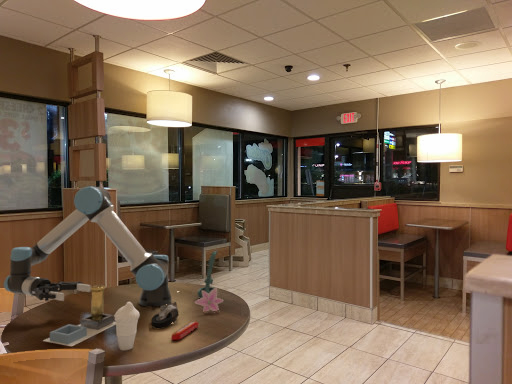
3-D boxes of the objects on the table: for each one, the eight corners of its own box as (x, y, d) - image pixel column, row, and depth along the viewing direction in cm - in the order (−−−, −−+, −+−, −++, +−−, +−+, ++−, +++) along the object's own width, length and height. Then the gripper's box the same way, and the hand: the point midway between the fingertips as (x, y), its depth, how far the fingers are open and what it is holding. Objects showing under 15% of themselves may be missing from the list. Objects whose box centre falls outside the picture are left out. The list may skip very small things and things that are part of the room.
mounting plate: (93, 320, 150) (93, 318, 150) (119, 325, 146) (119, 322, 146) (42, 343, 127) (42, 340, 127) (71, 349, 123) (71, 346, 123)
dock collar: (68, 332, 135) (68, 324, 135) (86, 335, 133) (87, 327, 133) (49, 340, 127) (49, 332, 127) (68, 344, 125) (68, 335, 125)
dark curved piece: (207, 308, 174) (226, 259, 175) (188, 299, 176) (207, 250, 177) (215, 302, 188) (232, 257, 189) (197, 294, 190) (214, 249, 191)
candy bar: (191, 326, 147) (191, 319, 147) (199, 328, 145) (199, 320, 145) (169, 341, 132) (169, 333, 132) (177, 343, 130) (177, 335, 130)
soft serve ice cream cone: (107, 350, 123) (108, 303, 123) (124, 341, 131) (125, 296, 131) (127, 355, 120) (128, 306, 120) (144, 345, 128) (144, 299, 128)
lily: (190, 314, 163) (193, 299, 159) (201, 297, 173) (204, 282, 169) (215, 324, 161) (218, 309, 157) (224, 307, 172) (228, 292, 167)
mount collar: (96, 319, 149) (96, 312, 149) (113, 322, 146) (113, 315, 146) (80, 326, 141) (80, 319, 141) (98, 329, 138) (98, 322, 138)
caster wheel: (154, 335, 142) (151, 323, 151) (182, 326, 146) (178, 315, 155) (151, 320, 141) (148, 309, 150) (180, 311, 145) (175, 301, 154)
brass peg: (105, 321, 147) (105, 284, 147) (103, 326, 141) (103, 288, 141) (91, 322, 145) (92, 285, 145) (88, 327, 140) (89, 288, 140)
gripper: (61, 288, 165) (99, 294, 158) (8, 303, 141) (50, 311, 135) (61, 272, 165) (99, 276, 158) (9, 284, 141) (51, 291, 135)
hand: (77, 292), depth 146 cm, fingers open, 13 cm apart
